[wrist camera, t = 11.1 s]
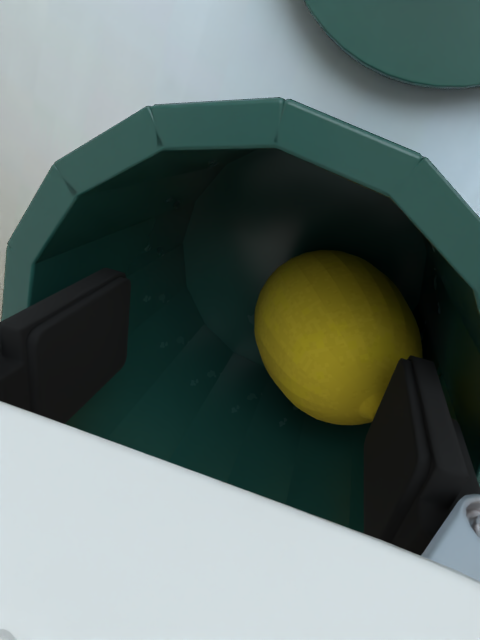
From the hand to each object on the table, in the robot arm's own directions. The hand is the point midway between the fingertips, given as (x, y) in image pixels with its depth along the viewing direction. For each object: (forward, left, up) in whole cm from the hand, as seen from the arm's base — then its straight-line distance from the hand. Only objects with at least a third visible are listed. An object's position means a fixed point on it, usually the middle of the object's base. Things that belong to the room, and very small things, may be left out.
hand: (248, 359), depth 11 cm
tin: (0, 0, -9) cm, 9 cm away
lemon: (0, 0, -8) cm, 8 cm away
